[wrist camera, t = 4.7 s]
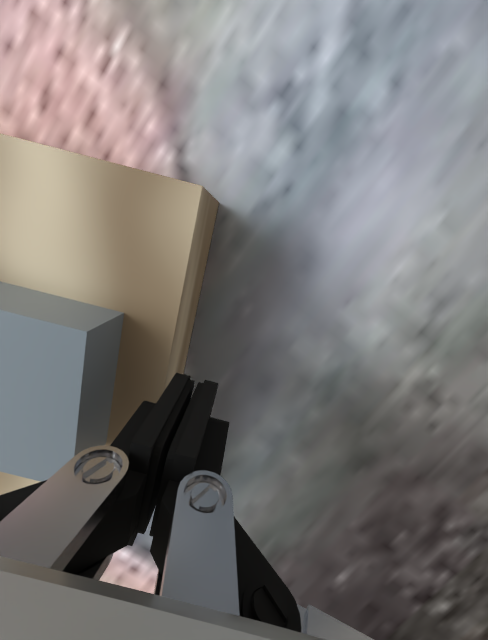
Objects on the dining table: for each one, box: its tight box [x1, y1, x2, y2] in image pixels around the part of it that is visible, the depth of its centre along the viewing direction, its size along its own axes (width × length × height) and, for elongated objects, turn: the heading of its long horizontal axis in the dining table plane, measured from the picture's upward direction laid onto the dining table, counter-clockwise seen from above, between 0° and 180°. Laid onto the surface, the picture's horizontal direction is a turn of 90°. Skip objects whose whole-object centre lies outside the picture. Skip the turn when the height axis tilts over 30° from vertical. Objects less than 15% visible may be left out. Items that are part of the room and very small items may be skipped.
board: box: [0, 134, 219, 495], centre depth 13 cm, size 16×16×4 cm
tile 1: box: [0, 281, 124, 482], centre depth 10 cm, size 6×6×2 cm
